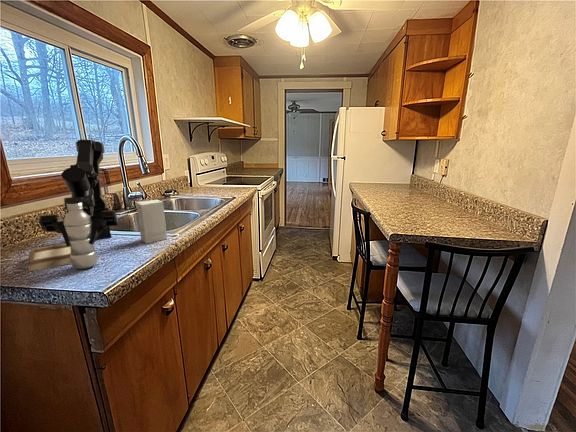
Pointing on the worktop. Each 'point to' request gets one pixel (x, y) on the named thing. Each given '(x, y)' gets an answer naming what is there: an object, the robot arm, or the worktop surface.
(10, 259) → the worktop surface
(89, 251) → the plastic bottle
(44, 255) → the stand
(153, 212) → the skincare box
